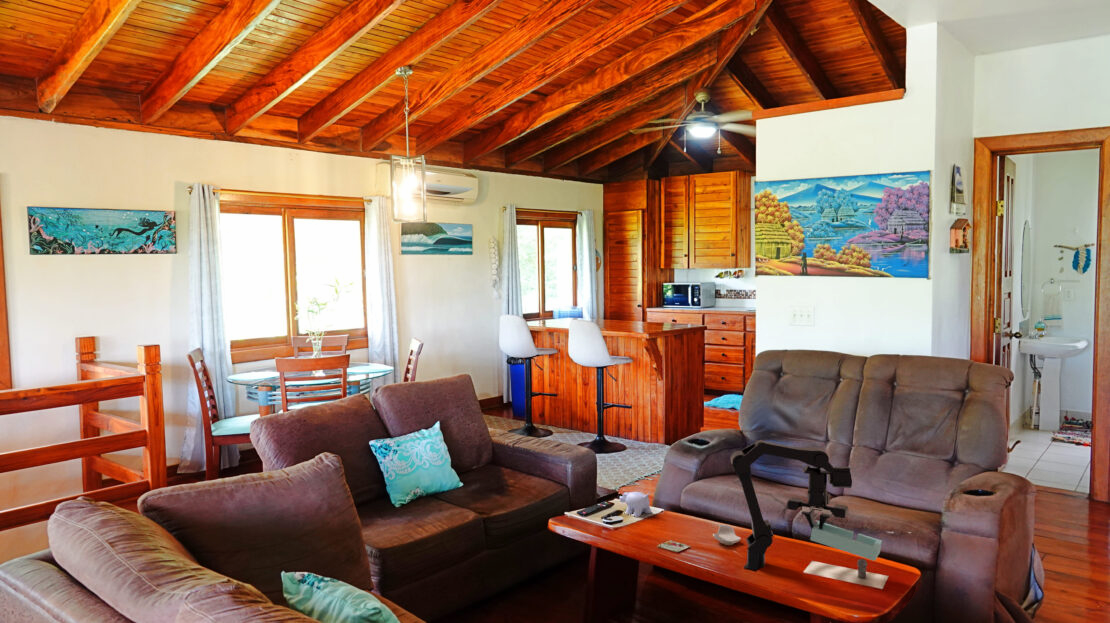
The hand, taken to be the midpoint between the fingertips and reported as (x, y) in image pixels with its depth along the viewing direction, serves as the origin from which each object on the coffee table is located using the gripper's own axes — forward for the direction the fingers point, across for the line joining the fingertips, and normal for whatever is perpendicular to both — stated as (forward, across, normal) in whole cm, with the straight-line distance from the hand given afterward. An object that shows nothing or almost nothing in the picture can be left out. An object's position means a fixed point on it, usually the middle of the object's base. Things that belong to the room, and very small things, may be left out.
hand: (816, 533), depth 244 cm
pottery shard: (+13, +34, -10) cm, 38 cm away
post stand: (+13, -9, 0) cm, 16 cm away
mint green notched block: (+3, -9, 0) cm, 9 cm away
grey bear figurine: (+13, +79, -25) cm, 84 cm away
